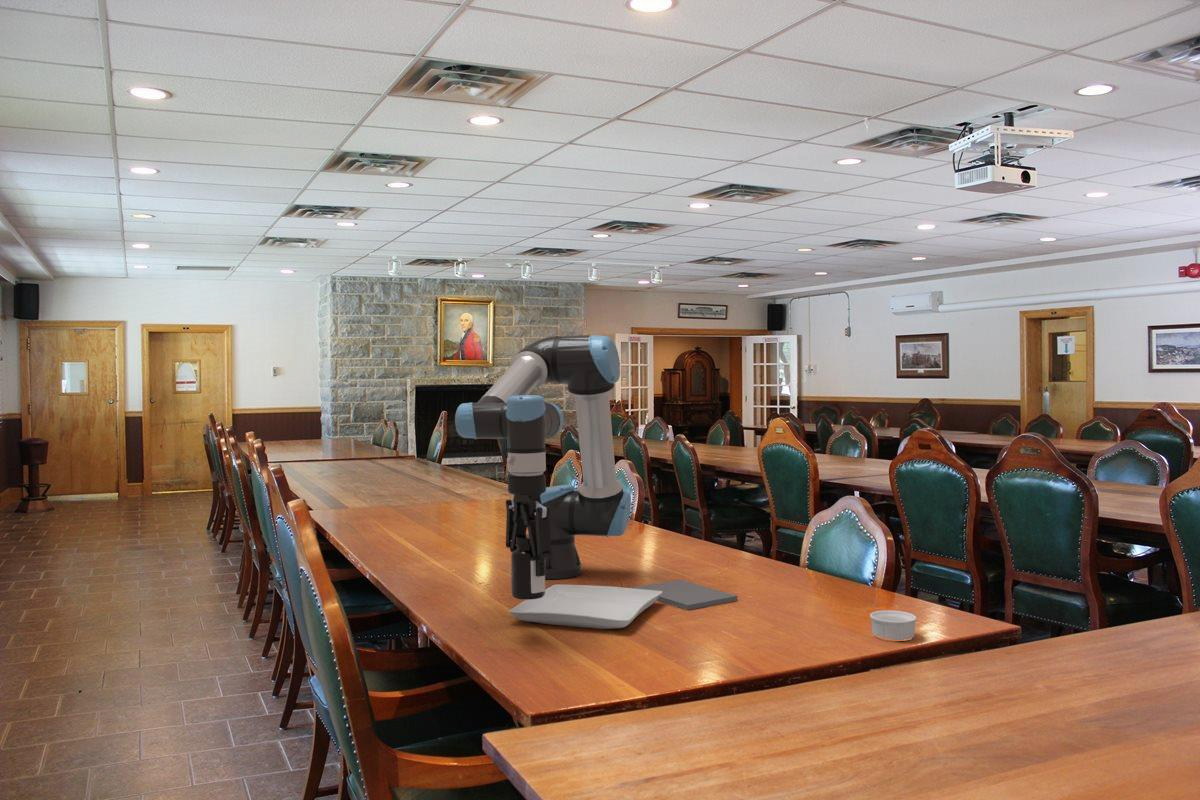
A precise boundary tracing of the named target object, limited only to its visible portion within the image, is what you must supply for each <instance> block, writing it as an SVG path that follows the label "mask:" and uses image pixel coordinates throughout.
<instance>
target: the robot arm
mask: <svg viewBox="0 0 1200 800" xmlns="http://www.w3.org/2000/svg"><path fill="white" fill-rule="evenodd" d="M617 348H618V347H617V346H616V343H615V342H614V340H613V339H612V338H611V337H610V336H607V335H596V334H587V335H563V336H562V335H561V336H559V335H551V336H546V337H543V338H541V339H538V340H536V341H534V342H532V343H530V344H528V345H527V346H525V347H523V348H521V350H520V351H518V352H517V353H516V354H515V355H514V356H513V357H512V359H511V361H510V363H509V367H508V369H506V371H505V372H504V373H503V374H502V375H501V376H500V378H499V379H497V381H496V382H495V383H494V384H493V385H492V386H491V387H490V388H489V389H488V391H486V392H485V394H484V395H482V396H481V398H480V399H479V400H478V401H477V402H473V401H472V402H464V403H461V404H459V406H458V407H457V409H456V412H455V415H454V425H455V431H456V433H457V434H458V435H459V436H460V437H461V438H463V439H474V440H478V439H479V440H480V439H484V440H486V439H488V440H489V439H491V440H492V439H493V440H494V439H497V440H498V439H499V440H500V439H504V440H507V458H506V462H507V471H508V472H509V473H510V474H508V475H507V491H508V493H509V494H511V495H514V496H513V499H512V498H511V499H506V500H505V508H506V524H505V525H506V527H505V531H506V532H505V547H506V548H509V550H510V553H512V552H513V551H514V550H515V549H517V546H516V537H517V536H518V535H525V534H527V532H528V534H529V538H530V544H531V549H532V554H533V557H532V558H530V560H531V593H539V592H545V589H546V580H560V579H570V578H575V577H578V576H579V575H581V574H582V563H581V562H582V561H581V559H580V556H579V553H578V550H577V547H576V543H575V538H576V537H575V536H587V537H589V536H590V537H591V536H592V537H607V538H609V537H621V536H622V535H624V534H625V532H626V530H627V528H628V524H629V519H630V513H631V505H632V497H631V493H630V492H628V491H624V486H623V483H622V482H621V481H620V480H618V479H617V473H616V464H615V463H616V461H615V452H614V449H615V447H614V440H613V427H612V414H611V403H610V402H611V401H610V393H611V392H612V391H613V390H614V389H615V384H616V383H618V382H619V380H620V377H621V368H620V367H621V363H620V362H621V361H620V355H619V350H618V349H617ZM549 383H550V384H552V383H553V384H556V383H557V384H561V383H562V384H567V391H568V394H570V395H572V396H573V397H574V402H575V412H576V421H577V431H578V432H577V433H578V440H579V441H578V442H579V452H580V461H581V470H582V471H581V472H582V480H583V481H582V483H581V484H580V485H579V486H578V490H575V489H576V488H575V486H574V485H573V484H564V485H563V484H561V485H554V486H553V485H552V486H547V480H546V479H547V476H546V474H545V473H544V472H546V471H547V466H546V465H547V464H546V463H547V461H546V460H547V458H546V454H547V453H546V440H548V439H551V438H553V437H554V436H556V435H557V434H559V433H560V431H561V430H562V429H563V426H564V423H565V418H564V414H563V412H562V410H561V408H560V407H559V406H558V405H556V404H555V403H553V402H548V401H545V398H544V397H543V396H541V395H539V394H538V395H537V394H536V395H535V394H534V395H533V394H530V393H531V392H533V390H534V389H537V388H540V387H541V386H542V385H543V384H549ZM537 552H538V553H537Z"/></svg>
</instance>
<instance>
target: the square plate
mask: <svg viewBox="0 0 1200 800" xmlns="http://www.w3.org/2000/svg"><path fill="white" fill-rule="evenodd" d="M662 593H663V591H655V590H643V589H633V588H632V587H631V588H630V587H619V586H606V585H588V584H587V585H583V584H558V583H557V584H553V585H552V586H550V587H547V588H545V595H544V596H543V597H541V598H538V599H530V600H523V601H522V602H520V603H519V604H517V605H515V606H514V607H512V608H511V609H510V610H508V612H509V613H510V615H512V617H514V618H516V619H517V620H520V621H524V622H530V623H538V624H544V625H553V626H554V625H555V626H568V627H575V628H576V627H578V628H590V629H599V630H602V629H603V630H610V629H611V630H613V629H623V628H624V629H625V627H627V626H629V624H631V623H632V622H633V621H634V619H636V617H638V616H640V614H641V613H642V612H643V611H645V610H646V609H648V608H649V607H651V606H652V605H653V604H654V603H655V602H656V601H657V599H658V598H659V596H660V595H661V594H662Z"/></svg>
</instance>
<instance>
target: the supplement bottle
mask: <svg viewBox="0 0 1200 800" xmlns="http://www.w3.org/2000/svg"><path fill="white" fill-rule="evenodd" d="M516 546H517V549H515V550H514V551H513V552H511V554H510V555H511V556H510V582H511V583H510V591H511V597H513V598H515V599H516V600H523V601H525V600H530V599H538V598H541V597H543V596H544V595H545V592H539V593H531V560H530V558H532V557H533V554H532V549H531V544H530V538H529V533H528V534H527V533H526V534H525V535H518V536H517V537H516ZM537 553H538V552H537Z"/></svg>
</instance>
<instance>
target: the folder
mask: <svg viewBox="0 0 1200 800" xmlns="http://www.w3.org/2000/svg"><path fill="white" fill-rule="evenodd" d="M631 588H633V589H643V590H655V591H663V593H662V594H661V595H660V596H659V598H658V599H657V600H658V601H657V600H656V601H657V602H660V601H661V603H663V602H665V603H664V604H666V603H668V604H667V605H669V604H671V605H670V606H672V605H674V606H673V607H675V606H677V607H676V608H678V607H680V608H679V609H681V608H683V609H682V610H684V609H686V611H687V610H688V611H692V610H691V609H693V610H697V609H696V608H698V609H702V607H703V608H706V607H713V605H714V606H718V604H719V605H724V604H728V602H729V603H733V601H734V602H738V595H736V594H733V593H730V592H725V591H722V590H718V589H715V588H711V587H708V586H704V585H701V584H697V583H694V582H690V581H688V580H684V579H674V580H669V581H663V582H657V583H652V584H646V585H640V586H633V587H631Z"/></svg>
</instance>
